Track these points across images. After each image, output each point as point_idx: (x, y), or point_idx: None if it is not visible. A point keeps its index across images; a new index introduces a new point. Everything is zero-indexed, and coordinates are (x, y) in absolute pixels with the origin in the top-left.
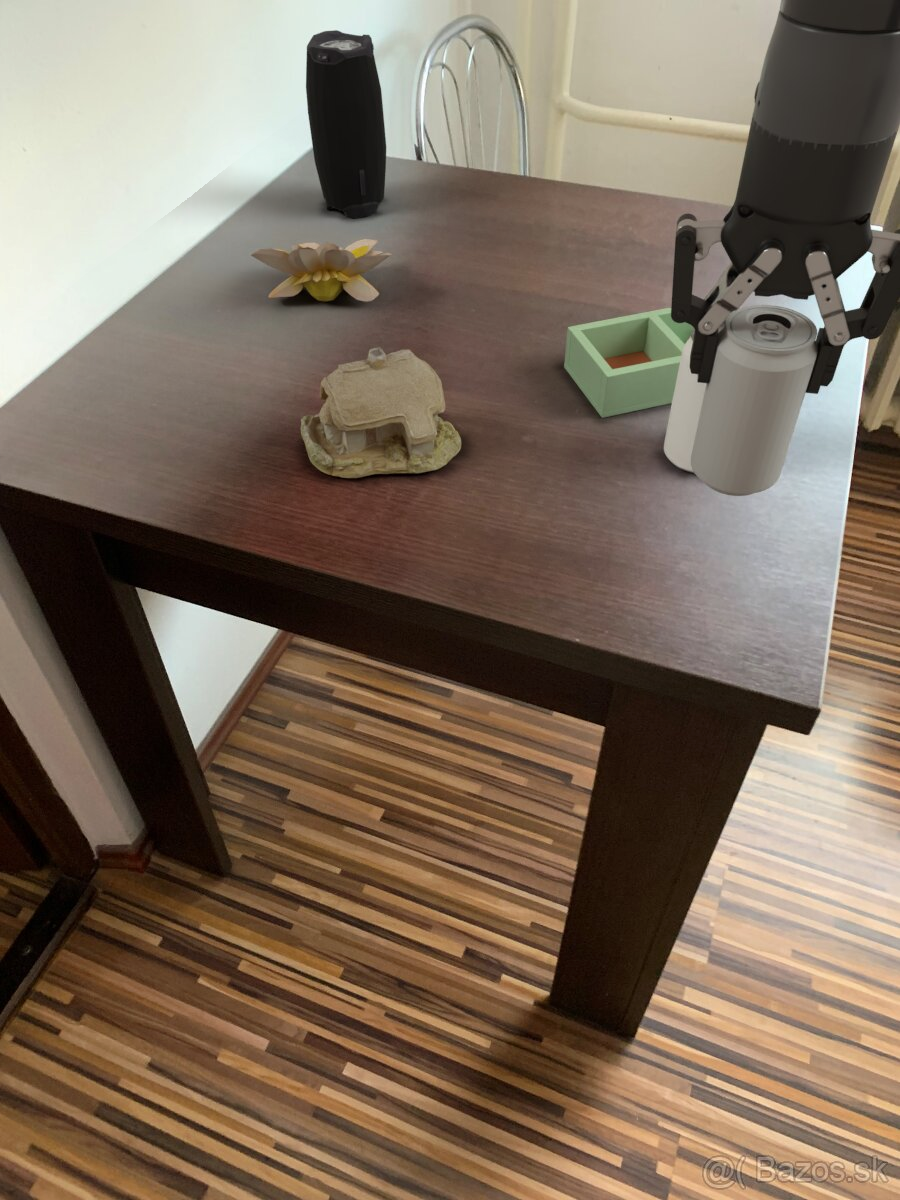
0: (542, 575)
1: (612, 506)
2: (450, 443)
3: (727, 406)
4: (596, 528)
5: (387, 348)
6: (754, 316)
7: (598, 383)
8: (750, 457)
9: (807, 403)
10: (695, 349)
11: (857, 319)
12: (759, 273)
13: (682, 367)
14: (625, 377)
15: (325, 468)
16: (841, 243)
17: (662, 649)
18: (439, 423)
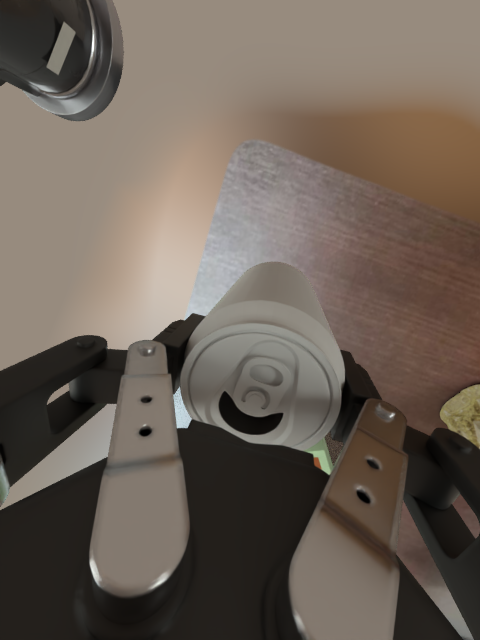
0: (412, 267)
1: (334, 337)
2: (455, 409)
3: (316, 303)
4: (353, 315)
5: (469, 513)
6: (274, 431)
7: (325, 448)
8: (275, 269)
9: (182, 416)
10: (372, 389)
11: (106, 372)
12: (345, 518)
13: None
14: (308, 448)
15: None
16: (12, 609)
17: (335, 184)
18: (469, 427)
